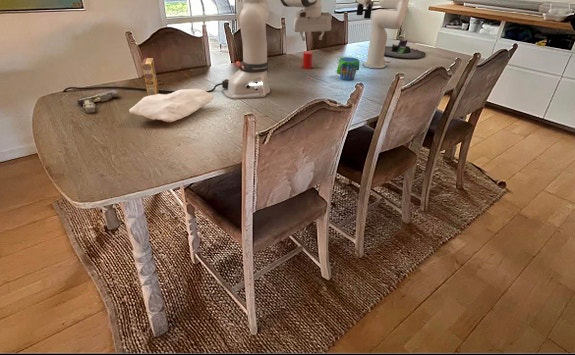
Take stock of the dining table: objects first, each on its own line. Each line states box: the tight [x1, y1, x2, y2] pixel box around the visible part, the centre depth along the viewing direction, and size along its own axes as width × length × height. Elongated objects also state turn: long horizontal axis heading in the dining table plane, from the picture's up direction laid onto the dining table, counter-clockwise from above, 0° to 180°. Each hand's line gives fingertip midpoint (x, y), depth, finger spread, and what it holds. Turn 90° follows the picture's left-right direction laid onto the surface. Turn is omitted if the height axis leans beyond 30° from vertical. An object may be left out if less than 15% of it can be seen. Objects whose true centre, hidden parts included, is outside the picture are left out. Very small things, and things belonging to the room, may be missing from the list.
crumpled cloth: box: [129, 88, 214, 123], centre depth 147 cm, size 24×35×9 cm
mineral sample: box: [384, 38, 427, 59], centre depth 250 cm, size 35×35×9 cm
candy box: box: [141, 57, 160, 96], centre depth 163 cm, size 9×4×15 cm, turn 13°
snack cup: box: [336, 56, 361, 81], centre depth 195 cm, size 16×10×10 cm
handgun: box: [76, 89, 120, 114], centre depth 155 cm, size 3×18×15 cm
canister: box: [302, 51, 313, 70], centre depth 211 cm, size 5×5×9 cm
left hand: (311, 40), depth 197 cm, fingers open, 8 cm apart
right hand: (363, 16), depth 180 cm, fingers open, 9 cm apart
